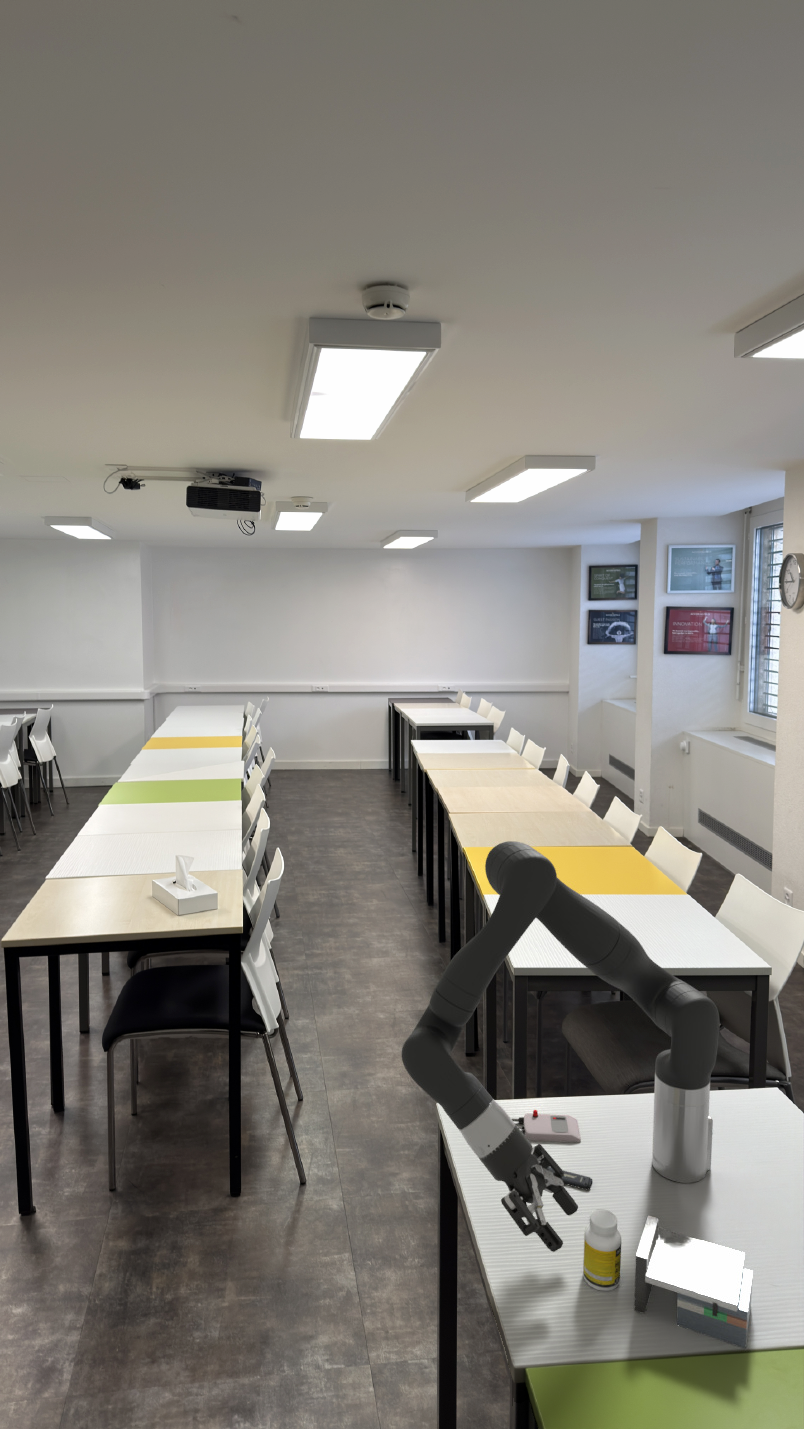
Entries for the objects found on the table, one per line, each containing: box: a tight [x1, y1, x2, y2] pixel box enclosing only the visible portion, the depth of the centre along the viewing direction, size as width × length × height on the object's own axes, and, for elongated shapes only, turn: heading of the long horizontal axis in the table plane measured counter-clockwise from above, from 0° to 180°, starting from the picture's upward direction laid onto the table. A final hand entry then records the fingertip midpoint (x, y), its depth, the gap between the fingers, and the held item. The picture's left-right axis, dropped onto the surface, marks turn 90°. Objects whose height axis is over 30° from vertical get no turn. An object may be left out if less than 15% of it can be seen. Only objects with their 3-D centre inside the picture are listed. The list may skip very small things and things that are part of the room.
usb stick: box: [548, 1167, 593, 1191], centre depth 155 cm, size 10×3×2 cm, turn 66°
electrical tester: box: [511, 1109, 582, 1143], centre depth 169 cm, size 7×16×3 cm, turn 85°
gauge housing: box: [676, 1267, 754, 1349], centre depth 125 cm, size 9×8×6 cm
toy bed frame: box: [633, 1214, 746, 1317], centre depth 126 cm, size 14×10×8 cm
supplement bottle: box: [582, 1208, 622, 1291], centre depth 132 cm, size 5×5×10 cm
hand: (566, 1229), depth 133 cm, fingers open, 8 cm apart
